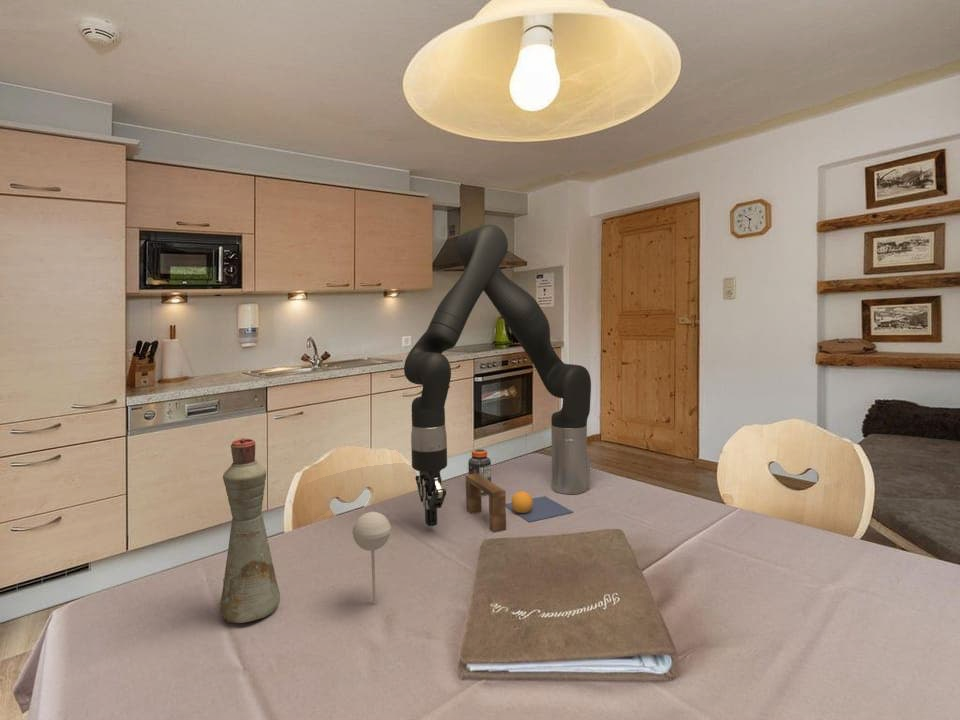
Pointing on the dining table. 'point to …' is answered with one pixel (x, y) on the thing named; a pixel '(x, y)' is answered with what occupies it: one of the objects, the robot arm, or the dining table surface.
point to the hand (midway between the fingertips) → (431, 524)
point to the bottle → (247, 542)
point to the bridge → (496, 500)
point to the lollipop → (372, 536)
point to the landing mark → (542, 509)
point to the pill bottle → (480, 464)
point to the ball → (522, 502)
